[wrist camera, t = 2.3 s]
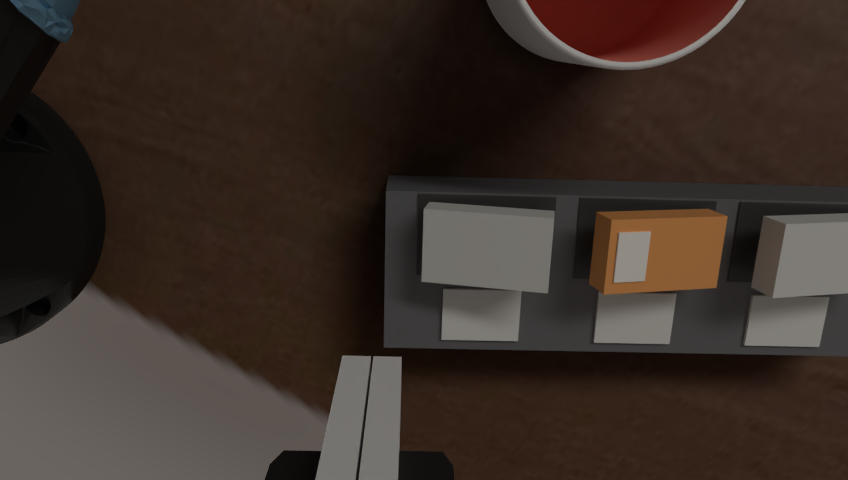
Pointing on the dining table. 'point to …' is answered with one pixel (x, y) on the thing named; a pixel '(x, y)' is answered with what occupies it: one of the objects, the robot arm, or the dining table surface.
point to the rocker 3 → (802, 255)
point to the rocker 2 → (656, 250)
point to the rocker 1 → (487, 246)
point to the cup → (613, 29)
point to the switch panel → (570, 272)
